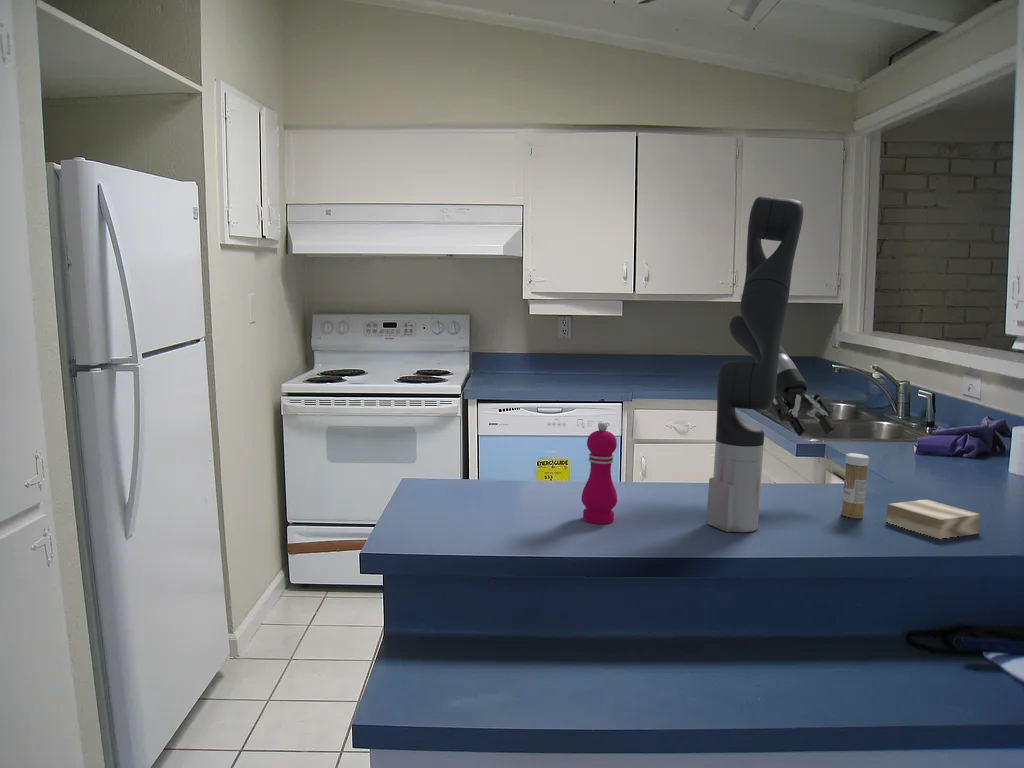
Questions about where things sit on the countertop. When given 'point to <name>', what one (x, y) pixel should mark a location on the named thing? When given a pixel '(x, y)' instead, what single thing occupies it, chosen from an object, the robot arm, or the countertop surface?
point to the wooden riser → (933, 518)
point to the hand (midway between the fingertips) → (817, 433)
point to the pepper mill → (600, 478)
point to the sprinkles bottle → (854, 485)
